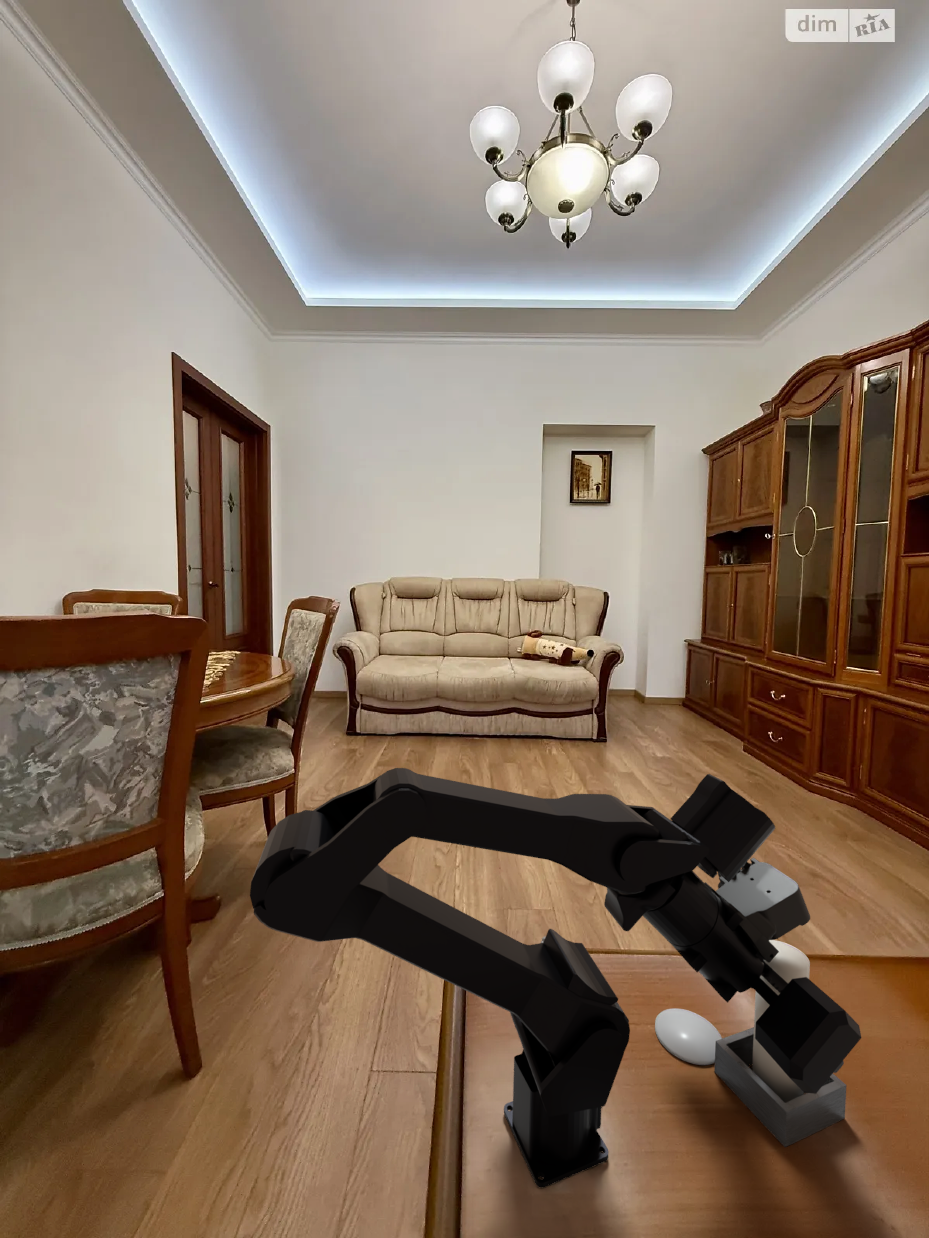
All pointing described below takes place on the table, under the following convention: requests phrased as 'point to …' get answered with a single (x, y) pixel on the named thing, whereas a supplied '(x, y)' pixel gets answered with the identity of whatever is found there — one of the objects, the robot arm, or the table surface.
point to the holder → (777, 1116)
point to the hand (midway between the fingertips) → (793, 1021)
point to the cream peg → (786, 966)
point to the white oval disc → (687, 1036)
